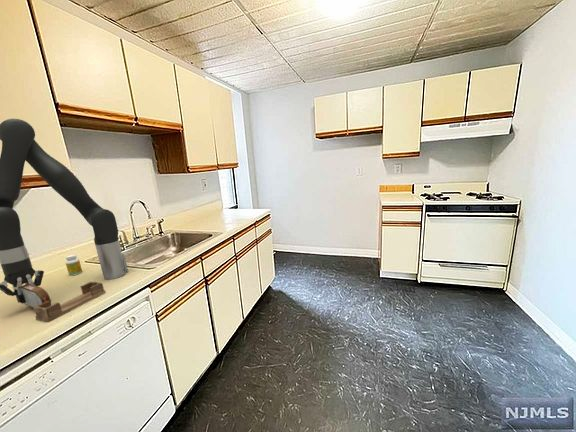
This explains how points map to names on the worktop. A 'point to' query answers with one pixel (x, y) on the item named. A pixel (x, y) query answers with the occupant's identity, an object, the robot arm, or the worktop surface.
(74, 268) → the supplement bottle
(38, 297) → the tin
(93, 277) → the worktop surface
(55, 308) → the rack
